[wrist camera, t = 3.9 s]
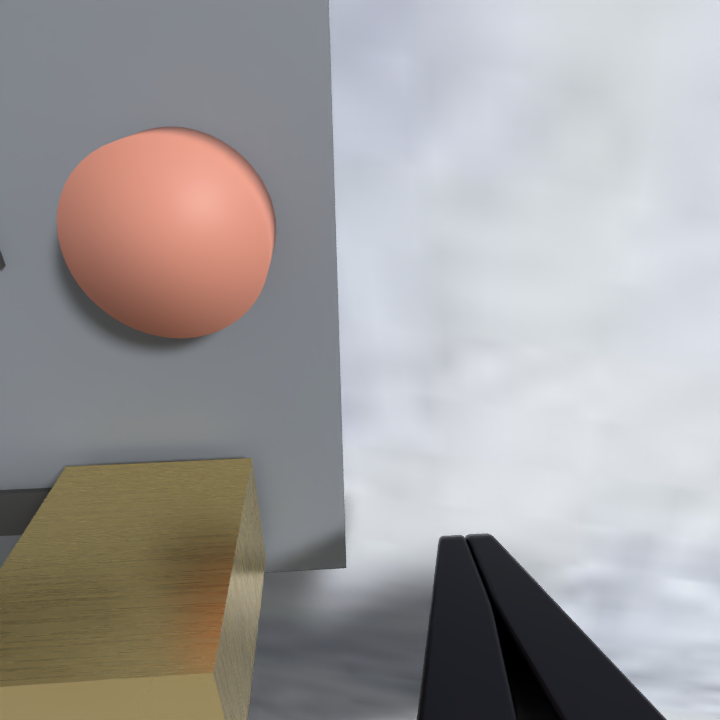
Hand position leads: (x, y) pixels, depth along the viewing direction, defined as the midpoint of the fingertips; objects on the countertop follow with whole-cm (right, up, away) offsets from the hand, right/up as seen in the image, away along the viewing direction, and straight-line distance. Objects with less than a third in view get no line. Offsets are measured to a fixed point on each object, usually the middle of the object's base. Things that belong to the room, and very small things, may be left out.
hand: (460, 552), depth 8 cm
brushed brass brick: (-5, 0, +1) cm, 5 cm away
